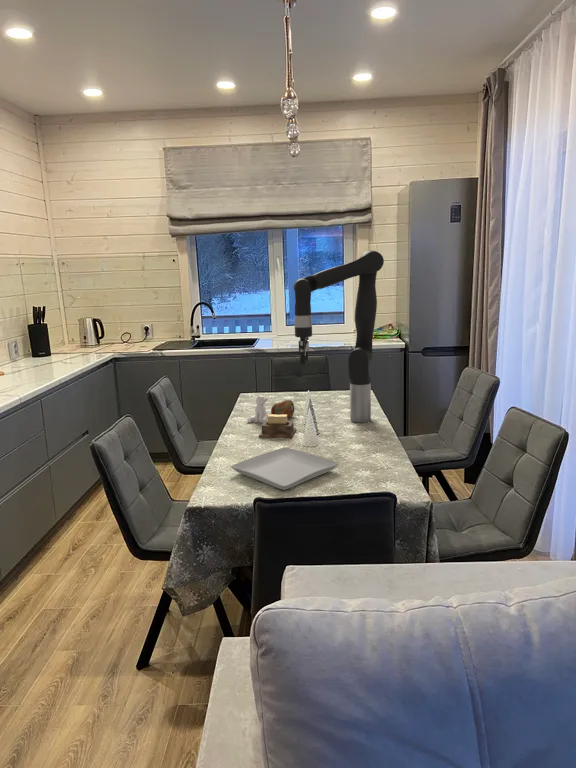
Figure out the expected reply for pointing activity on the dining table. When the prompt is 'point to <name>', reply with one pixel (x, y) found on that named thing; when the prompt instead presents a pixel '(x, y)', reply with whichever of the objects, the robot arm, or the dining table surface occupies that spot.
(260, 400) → the sitting furry creature
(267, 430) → the slotted block
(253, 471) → the square plate
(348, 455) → the dining table surface
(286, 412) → the tin
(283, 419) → the tan wooden block
